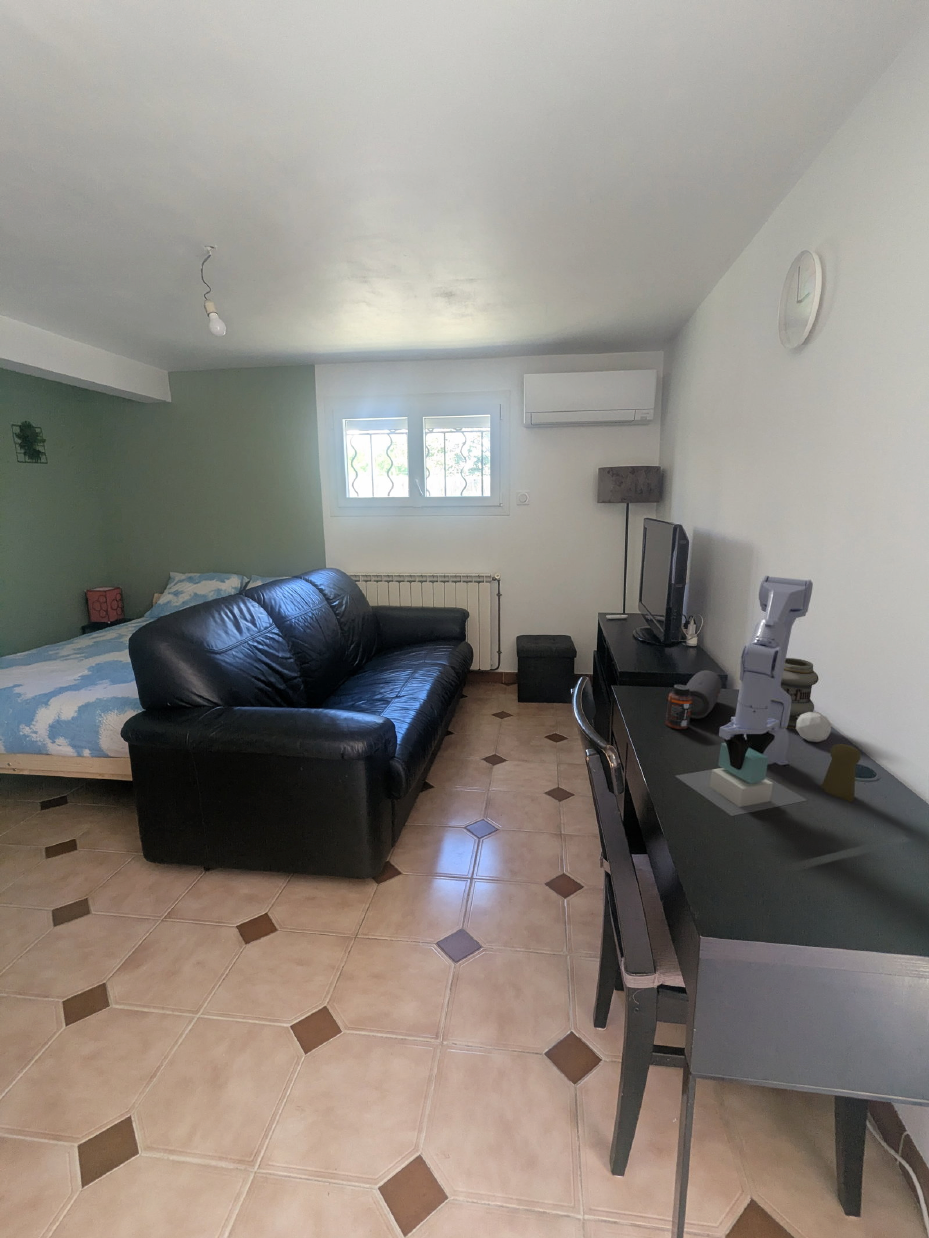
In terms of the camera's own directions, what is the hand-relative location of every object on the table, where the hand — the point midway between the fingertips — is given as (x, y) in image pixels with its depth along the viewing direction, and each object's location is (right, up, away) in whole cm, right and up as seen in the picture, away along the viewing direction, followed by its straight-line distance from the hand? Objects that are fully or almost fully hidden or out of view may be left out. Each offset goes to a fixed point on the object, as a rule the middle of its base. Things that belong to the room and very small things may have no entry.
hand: (743, 765), depth 111 cm
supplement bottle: (+1, +1, +37) cm, 37 cm away
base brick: (0, -6, +1) cm, 6 cm away
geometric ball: (+34, -2, +31) cm, 46 cm away
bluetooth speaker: (+12, +3, +49) cm, 51 cm away
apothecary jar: (+34, +1, +42) cm, 54 cm away
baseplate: (+1, -7, +4) cm, 8 cm away
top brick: (0, -2, +1) cm, 2 cm away
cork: (+22, -7, +4) cm, 24 cm away
